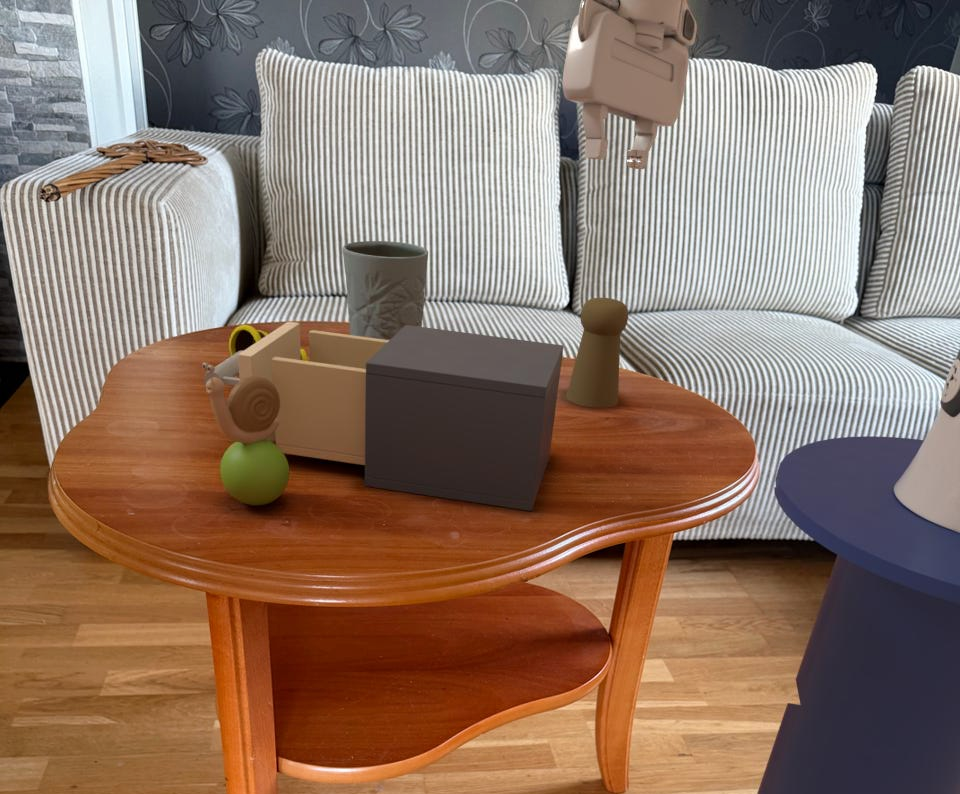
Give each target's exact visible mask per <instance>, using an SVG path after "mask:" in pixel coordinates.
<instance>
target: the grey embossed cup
mask: <svg viewBox="0 0 960 794" xmlns="http://www.w3.org/2000/svg"><path fill="white" fill-rule="evenodd" d="M342 258H343V267H344V268H343V269H344V274H345V284H346V292H347V294H346V299H347V300H346V302H347V312H348V317H349V322H350V323H349V335H354V336H361V337H369V338H376V339H384V340H390V339H391V338H392V337H394V336H395V335H396V334H397V333H398V332H399V331H400V330H401V329H402V328H403V327H404V326H405V325H411V326H418V327H423V318H424V310H425V309H424V308H425V287H426V279H427V278H426V277H427V272H428V271H427V269H428V261H429V251H428V249H427V248H426V247H424V246H420V245H417V244H413V243H407V242H401V241H387V240H366V241H365V240H363V241H354V242H348V243H346V244H344V245H343V246H342Z"/></svg>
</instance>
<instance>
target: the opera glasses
mask: <svg viewBox="0 0 960 794" xmlns="http://www.w3.org/2000/svg"><path fill="white" fill-rule="evenodd" d="M268 334H269V333H268V332H266V331H263V330H261V329H256V328H255V327H253V326H251V325H249V324H241V325H238V326H237V327H235V328H234V329H233V330H232V332H231V335H230V336H229V342H228V348H229V349H228V350H229V354H230V357H231V356H232V355H234V354H235V353H237V352H239V351H244V350H246V349H247V348H249V347H250V346H252V345H253V344H255V343H256V342H258V341H259V340H261V339H262V338H264V337H265V336H267V335H268ZM301 360H303V361H308V355H307V352H306V350H305V349H304V348H301Z"/></svg>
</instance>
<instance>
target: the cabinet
mask: <svg viewBox="0 0 960 794" xmlns="http://www.w3.org/2000/svg"><path fill="white" fill-rule="evenodd" d="M563 353H564V345H563V344H555V343H548V342H547V343H546V342H540V341H533V340H524V339H518V338H511V337H510V338H509V337H503V336H494V335H486V334H481V333H480V334H478V333H473V332H471V333H470V332H465V331H464V332H463V331H457V330H448V329H441V328H433V327H427V326H422V327H418V326H411V325H405V326H404V327H403V328H402V329H401V330H400V331H399V332H398V333H397V334H396V335H395V336H394V337H392V338H391V339H390V340H389V341H388V342H387V343H386V344H385V345H384V346H383V347H382V348H381V349H380V350H379V351H378V352H377V353H376V354H375V355H374V356H373V357H372V358H370V359H369V360H368V361H367V362H366V397H365V465H364V486H365V487H369V488H375V489H382V490H389V491H394V492H395V491H396V492H402V493H409V494H414V495H415V494H416V495H422V496H427V497H436V498H442V499H448V500H454V501H460V502H468V503H473V504H474V503H475V504H480V505H486V506H488V505H489V506H496V507H501V508H508V509H513V510H521V511H527V512H532V511H533V509H534V506H535V502H536V499H537V496H538V493H539V490H540V486H541V484H542V481H543V478H544V475H545V471H546V469H547V466H548V462H549V460H550V457H551V447H552V441H553V432H554V431H553V430H554V423H555V416H556V410H557V409H556V408H557V400H558V393H559V387H560V386H559V385H560V377H561V371H562V370H561V369H562V362H563Z"/></svg>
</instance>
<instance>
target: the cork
mask: <svg viewBox="0 0 960 794" xmlns="http://www.w3.org/2000/svg"><path fill="white" fill-rule="evenodd" d="M628 320H629V310H628V306H627V305H626V304H625V303H624V302H623V301H620V300H618V299H616V298H610V297H593V298H589V299H588V300H586V301H585V302H584V304H583V306H582V308H581V312H580V324H581V326H582V328H583V331H582V335H581V338H580V342H579V346H578V350H577V353H576V358H575V361H574V365H573V367H572V372H571V376H570V380H569V384H568V387H567V391H566V394H565V398H566V399H567V400H568V401H569V402H571V403H572V404H575V405H578V406H581V407H585V408H586V407H587V408H593V409H606V408H607V409H608V408H613V407H616V406H617V405H618V404H619V389H620V388H619V387H620V385H619V384H620V382H619V381H620V361H621V360H620V359H621V358H620V357H621V356H620V355H621V334H622V332H623V331H624V330H625V329H626V327H627V326H628V325H627V324H628V322H629V321H628Z"/></svg>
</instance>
